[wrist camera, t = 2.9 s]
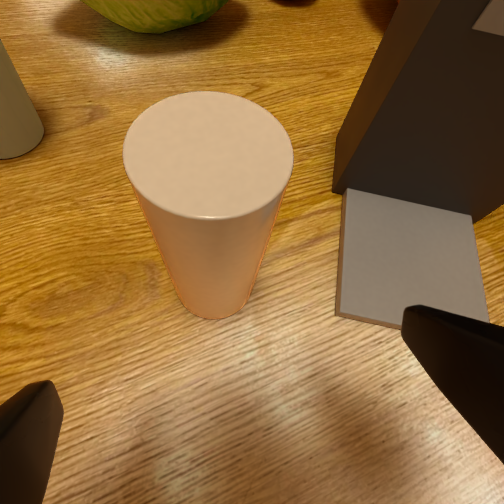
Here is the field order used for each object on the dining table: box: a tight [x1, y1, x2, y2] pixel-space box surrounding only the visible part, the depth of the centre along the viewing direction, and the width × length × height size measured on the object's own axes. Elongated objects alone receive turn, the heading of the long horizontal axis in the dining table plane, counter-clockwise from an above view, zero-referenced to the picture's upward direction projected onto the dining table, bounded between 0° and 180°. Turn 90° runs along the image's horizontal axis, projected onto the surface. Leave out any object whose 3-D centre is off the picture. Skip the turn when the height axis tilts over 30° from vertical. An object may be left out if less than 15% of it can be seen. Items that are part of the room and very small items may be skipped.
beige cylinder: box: [122, 91, 294, 319], centre depth 15 cm, size 6×6×13 cm
